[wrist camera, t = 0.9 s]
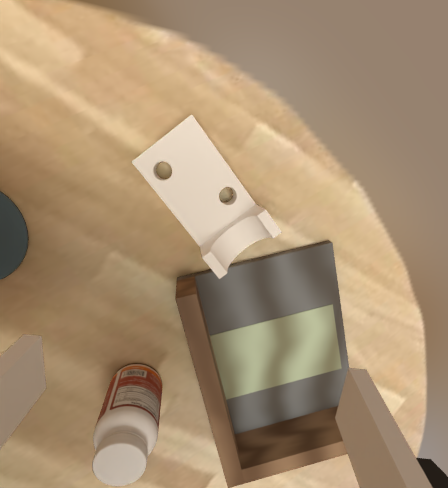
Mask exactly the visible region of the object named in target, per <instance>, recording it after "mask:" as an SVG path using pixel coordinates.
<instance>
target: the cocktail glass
mask: <svg viewBox="0 0 448 488" xmlns="http://www.w3.org/2000/svg"><path fill="white" fill-rule="evenodd" d="M27 247H28V231H27V227H26V223H25V221H24V218H23V216H22V214H21V213H20V211H19V210H18V208H17V206H16V205H15V204H14V203H13V202H12V201H11V200H10V199H9V198H8V197H7V196H6V195H4V194H3V193H2V192H0V279H3V278H5V277H6V276H8V275H9V274H11V273H12V272H13V271H14V270H15V269H16V268H17V267H18V266H19V265H20V263H21V262H22V260H23V258H24V256H25V254H26V251H27Z"/></svg>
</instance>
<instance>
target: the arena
mask: <svg viewBox="0 0 448 488" xmlns="http://www.w3.org/2000/svg"><path fill="white" fill-rule="evenodd" d="M227 272H228V273H227V274H226V275H224V276H223V277H222V278H220V279H219V278H218V277H217V276H216V274H215V273H214V272H213V271H212V269H210V270H206V271H202V272H198V273H194V274H190V275H186V276H182V277H178V278H177V286H176V302H177V306H178V309H179V313H180V317H181V320H182V324H183V327H184V331H185V335H186V338H187V342H188V345H189V349H190V353H191V356H192V360H193V363H194V367H195V371H196V374H197V378H198V381H199V385H200V389H201V392H202V396H203V399H204V403H205V407H206V410H207V414H208V417H209V421H210V425H211V428H212V432H213V435H214V439H215V443H216V446H217V450H218V454H219V457H220V461H221V464H222V468H223V472H224V475H225V479H226V482H227V486H228V488H230V487H234V486H237V485H241V484H244V483H248V482H251V481H255V480H258V479H262V478H265V477H269V476H272V475H276V474H279V473H283V472H286V471H290V470H293V469H297V468H300V467H304V466H307V465H310V464H314V463H317V462H321V461H324V460H328V459H331V458H335V457H338V456H342V455H345V454H348V453H347V450H346V447H345V445H344V442H343V439H342V436H341V433H340V431H339V428H338V425H337V422H336V419H335V416H336V413H337V409H338V405H339V401H340V397H341V394H342V390H343V386H344V382H345V379H346V375H347V371H348V368H349V364H348V356H347V349H346V341H345V334H344V326H343V319H342V311H341V304H340V296H339V289H338V281H337V274H336V267H335V259H334V252H333V244H332V242H330V241H325V242H321V243H317V244H312V245H308V246H304V247H300V248H296V249H292V250H288V251H284V252H280V253H276V254H272V255H268V256H263V257H259V258H255V259H251V260H247V261H243V262H239V263H235V264H231V265H229V267H228V270H227Z"/></svg>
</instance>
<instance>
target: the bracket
mask: <svg viewBox="0 0 448 488" xmlns="http://www.w3.org/2000/svg"><path fill="white" fill-rule="evenodd" d="M161 162H167V163H168V164H170V166H171V168H172V175H171V177H170V178H168V179H162V178H160V177H159V176H158V175H157V173H156V167H157V165H158V164H159V163H161ZM132 163H133V164H134V166H135V167H136V168H137V169H138V171H139V172H140V173H141V174H142V176H143V177H144V178H145V179H146V181H147V182H148V183H149V184H150V186H151V187H152V188H153V189H154V191H155V192H156V193H157V194H158V195H159V197H160V198H161V199H162V200H163V202H164V203H165V204H166V205H167V207H168V208H169V209H170V210H171V212H172V213H173V214H174V215H175V217H176V218H177V219H178V220H179V222H180V223H181V224H182V225H183V227H184V228H185V229H186V230H187V231H188V233H189V234H190V235H191V236H192V238H193V239H194V240H195V241H196V243H197V244H198V245H199V246H200V250H201V255H202V258H203V260H204V261H205V262H206V263H207V264H208V266H209V267H210V268H211V269H212V271H213V272H214V273H215V274H216V276H217V277H218V278H219V279H220V278H222V277H223V276H224V275H226V274H227V273H228V272H227V270H228V267H229V265H230V264H231V262H232V261H233V260H234V259H235V257H236V256H237V255H238V254H240V253H241V252H242V251H243V250H244V249H246V248H247V247H248V246H250V245H251V244H253V243H255V242H257V241H259V240H261V239H264V238H269V237H270V238H275V237H276V236H278V235H279V234H280V233H282V232H281V230H280V229H279V227H278V226H277V225H276V223H275V222H274V220H273V219H272V217H271V216H270V215H269V213H268V212H267V210H266V209H264V208H262V207H260V206H258V205H257V204H256V203H255V202H254V201H253V199H252V198H251V196H250V195H249V194H248V192H247V191H246V189H245V188H244V187H243V185H242V184H241V182H240V181H239V180H238V178H237V177H236V175H235V174H234V173H233V171H232V170H231V169H230V167H229V166H228V164H227V163H226V162H225V160H224V159H223V157H222V156H221V155H220V153H219V152H218V150H217V149H216V148H215V146H214V145H213V143H212V142H211V141H210V139H209V138H208V136H207V135H206V134H205V132H204V131H203V129H202V128H201V127H200V125H199V124H198V122H197V121H196V120H195V118H194V117H193V115H190V116H189V117H188V118H186V119H185V120H184V121H183V122H181V123H180V124H179V125H178V126H176V127H175V128H174V129H172V130H171V131H170V132H169V133H167V134H166V135H165V136H164V137H162V138H161V139H160V140H158V141H157V142H156V143H155V144H153V145H152V146H151V147H150V148H148V149H147V150H146V151H144V152H143V153H142V154H141V155H139V156H138V157H137V158H136V159H134V160H133V161H132ZM225 187H230V188H231V189H232V191H233V197H232V199H231V200H230V201H228V202H221V201H220V199H219V193H220V191H221V190H222V189H223V188H225Z"/></svg>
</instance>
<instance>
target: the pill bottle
mask: <svg viewBox="0 0 448 488" xmlns="http://www.w3.org/2000/svg"><path fill="white" fill-rule="evenodd" d="M161 396H162V381H161V378H160V376H159V375H158V373H157V372H156V371H155V370H154V369H152V368H150V367H148V366H146V365H142V364H132V365H128V366H125V367H123V368H122V369H120V370H119V371H118V372H117V373H116V374H115V375H114V376H113V378H112V380H111V382H110V385H109V388H108V391H107V394H106V397H105V400H104V403H103V406H102V409H101V412H100V415H99V418H98V421H97V424H96V427H95V431H94V435H93V443H94V447H95V450H96V451H95V455H94V459H93V464H92V467H93V472H94V474H95V476H96V477H97V478H98V479H99V480H100V481H101V482H103V483H104V484H107V485H111V486H124V485H128V484H131V483H133V482H135V481H136V480H138V479H139V478H140V477H141V476H142V475H143V473H144V471H145V469H146V465H147V458H148V455H149V454H150V453H151V452H152V450H153V448H154V447H155V445H156V442H157V437H158V428H159V417H160V407H161Z"/></svg>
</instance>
